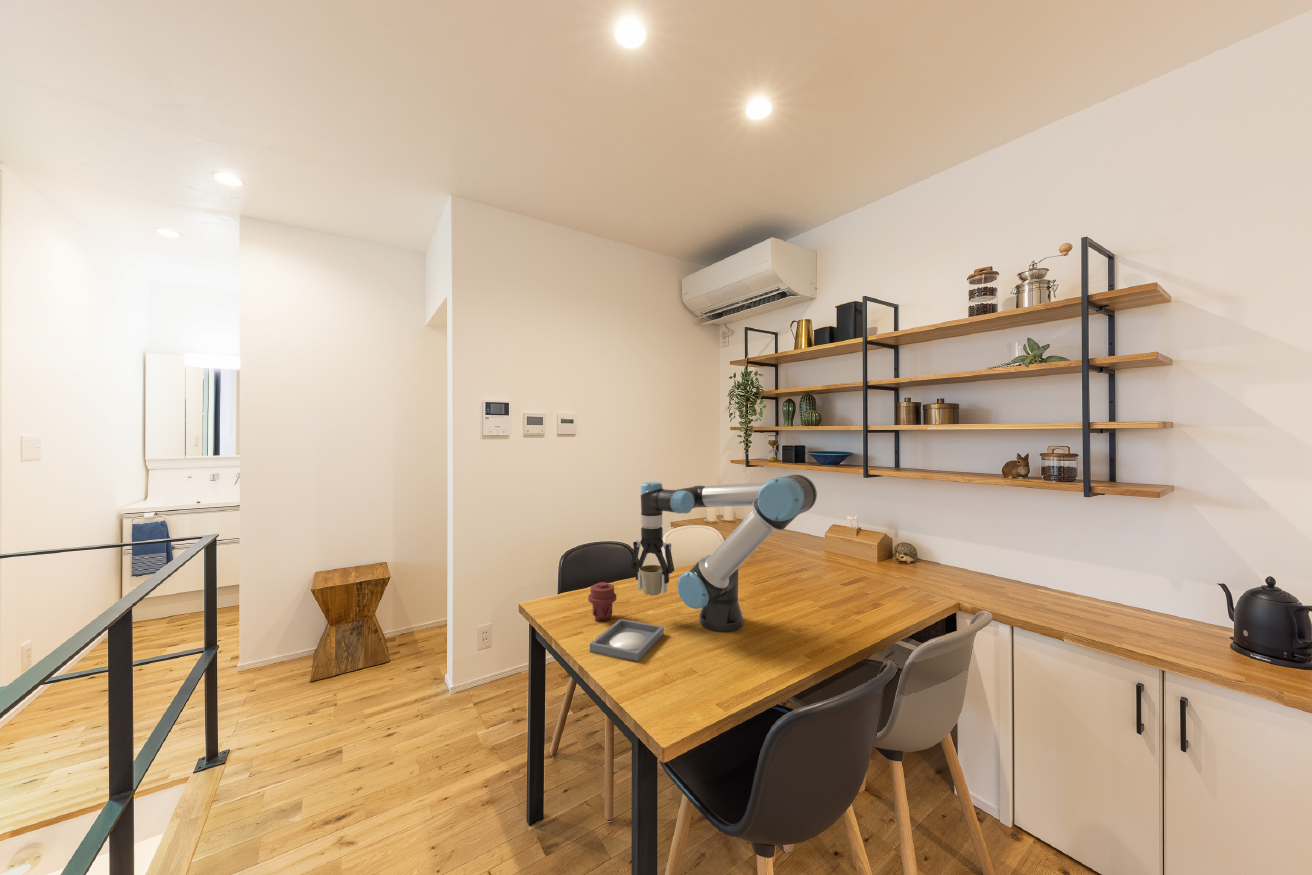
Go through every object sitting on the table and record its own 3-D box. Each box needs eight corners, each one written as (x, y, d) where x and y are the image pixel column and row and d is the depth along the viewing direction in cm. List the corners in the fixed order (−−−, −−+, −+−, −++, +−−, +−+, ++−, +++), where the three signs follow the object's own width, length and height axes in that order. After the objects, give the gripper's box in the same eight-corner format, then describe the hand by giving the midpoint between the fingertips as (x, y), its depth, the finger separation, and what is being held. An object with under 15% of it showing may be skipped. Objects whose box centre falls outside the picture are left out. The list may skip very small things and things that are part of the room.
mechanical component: (592, 612, 171) (618, 613, 170) (585, 623, 161) (613, 624, 160) (592, 578, 170) (618, 579, 169) (585, 588, 161) (613, 589, 160)
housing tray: (663, 634, 152) (663, 626, 152) (637, 662, 134) (637, 653, 134) (620, 626, 158) (620, 618, 158) (589, 651, 140) (589, 643, 140)
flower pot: (671, 592, 163) (671, 568, 163) (652, 599, 156) (652, 574, 156) (651, 586, 169) (651, 563, 169) (633, 593, 163) (633, 568, 162)
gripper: (683, 526, 162) (684, 591, 162) (629, 522, 170) (630, 583, 170) (676, 530, 155) (676, 598, 155) (620, 526, 163) (620, 590, 163)
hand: (652, 590), depth 163 cm, fingers closed on flower pot, 8 cm apart
